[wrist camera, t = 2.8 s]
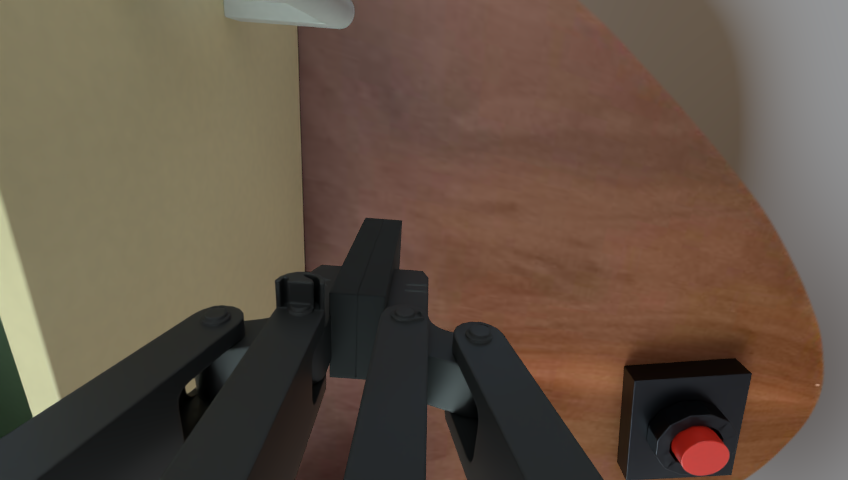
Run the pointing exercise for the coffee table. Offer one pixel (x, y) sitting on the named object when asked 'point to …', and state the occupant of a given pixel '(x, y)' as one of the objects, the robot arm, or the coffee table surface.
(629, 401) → the button block
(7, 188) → the door
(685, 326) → the coffee table surface
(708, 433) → the button
